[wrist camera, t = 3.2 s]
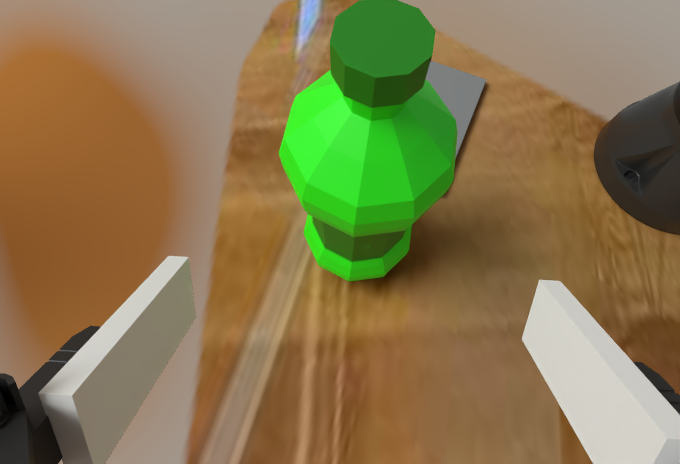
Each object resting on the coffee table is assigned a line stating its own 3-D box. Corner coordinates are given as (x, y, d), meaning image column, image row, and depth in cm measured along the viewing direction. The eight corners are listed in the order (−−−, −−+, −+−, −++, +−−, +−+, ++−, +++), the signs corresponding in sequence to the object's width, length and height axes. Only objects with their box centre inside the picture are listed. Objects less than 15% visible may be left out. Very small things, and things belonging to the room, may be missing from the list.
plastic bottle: (296, 283, 38) (226, 125, 14) (317, 186, 41) (290, -66, 18) (399, 302, 37) (504, 168, 14) (412, 202, 41) (512, -38, 17)
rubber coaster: (484, 84, 46) (486, 79, 45) (439, 197, 41) (441, 193, 40) (358, 41, 48) (358, 36, 48) (301, 143, 43) (300, 139, 42)
